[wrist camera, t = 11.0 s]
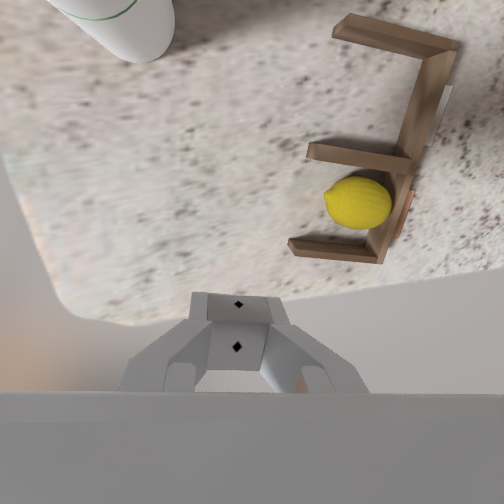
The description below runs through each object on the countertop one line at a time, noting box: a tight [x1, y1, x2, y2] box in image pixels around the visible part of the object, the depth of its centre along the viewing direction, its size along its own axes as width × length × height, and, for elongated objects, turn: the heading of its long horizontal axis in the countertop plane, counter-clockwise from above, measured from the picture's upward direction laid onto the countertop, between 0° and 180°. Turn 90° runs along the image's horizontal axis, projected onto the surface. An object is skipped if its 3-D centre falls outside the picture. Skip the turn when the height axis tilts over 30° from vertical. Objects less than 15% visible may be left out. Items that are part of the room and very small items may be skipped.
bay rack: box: [287, 13, 461, 264], centre depth 30 cm, size 22×14×4 cm, turn 171°
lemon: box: [324, 176, 392, 229], centre depth 31 cm, size 6×6×8 cm
